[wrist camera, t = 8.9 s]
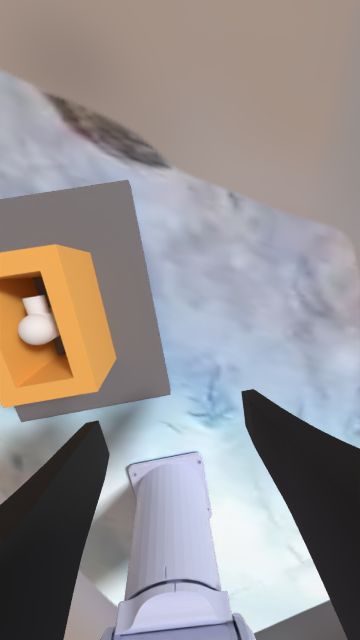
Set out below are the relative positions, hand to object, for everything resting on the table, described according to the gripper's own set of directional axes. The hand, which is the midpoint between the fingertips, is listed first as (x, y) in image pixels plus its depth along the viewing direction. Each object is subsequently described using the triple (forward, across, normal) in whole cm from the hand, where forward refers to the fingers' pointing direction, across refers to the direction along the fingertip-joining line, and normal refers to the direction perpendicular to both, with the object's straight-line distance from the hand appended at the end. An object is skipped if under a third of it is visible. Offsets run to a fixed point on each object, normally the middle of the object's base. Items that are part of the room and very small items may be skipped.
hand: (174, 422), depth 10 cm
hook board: (+9, +8, -5) cm, 13 cm away
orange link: (+8, +8, -5) cm, 12 cm away
